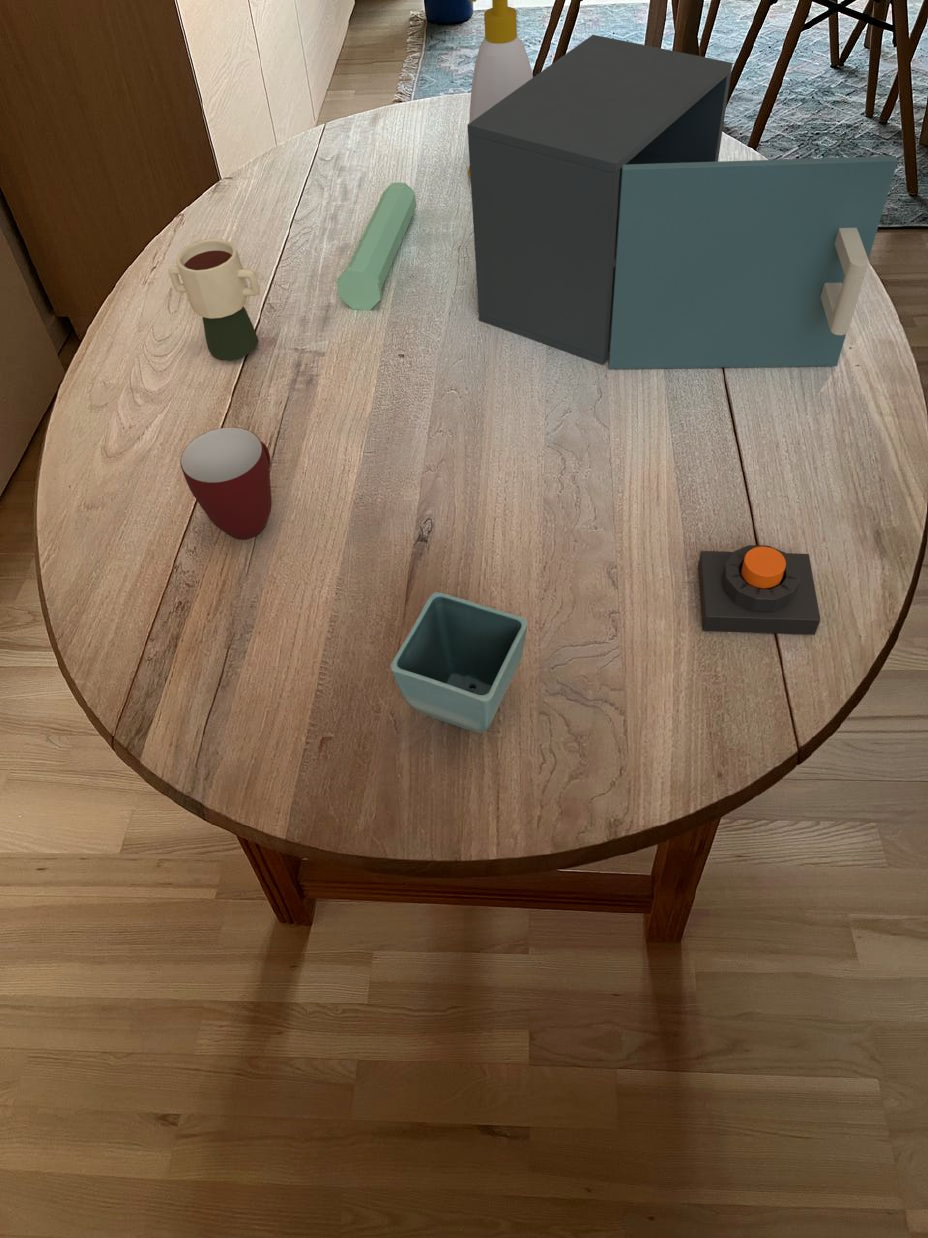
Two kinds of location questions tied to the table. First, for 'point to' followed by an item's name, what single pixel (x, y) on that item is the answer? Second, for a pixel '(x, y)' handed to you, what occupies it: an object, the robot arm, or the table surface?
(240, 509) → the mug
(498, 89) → the soap bottle
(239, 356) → the character mug
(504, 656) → the flower pot
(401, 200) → the green octagonal rod
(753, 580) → the button
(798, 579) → the button block
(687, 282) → the door
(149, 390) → the table surface
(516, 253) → the cupboard
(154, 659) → the table surface
